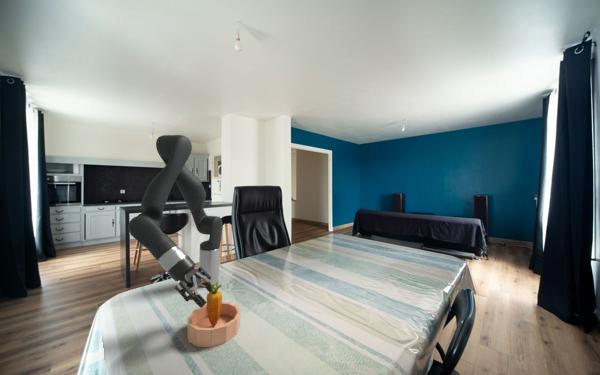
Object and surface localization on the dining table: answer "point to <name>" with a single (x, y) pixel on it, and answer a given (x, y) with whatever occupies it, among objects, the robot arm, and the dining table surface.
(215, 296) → the carrot
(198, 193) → the robot arm
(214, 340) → the terracotta bowl
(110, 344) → the dining table surface
